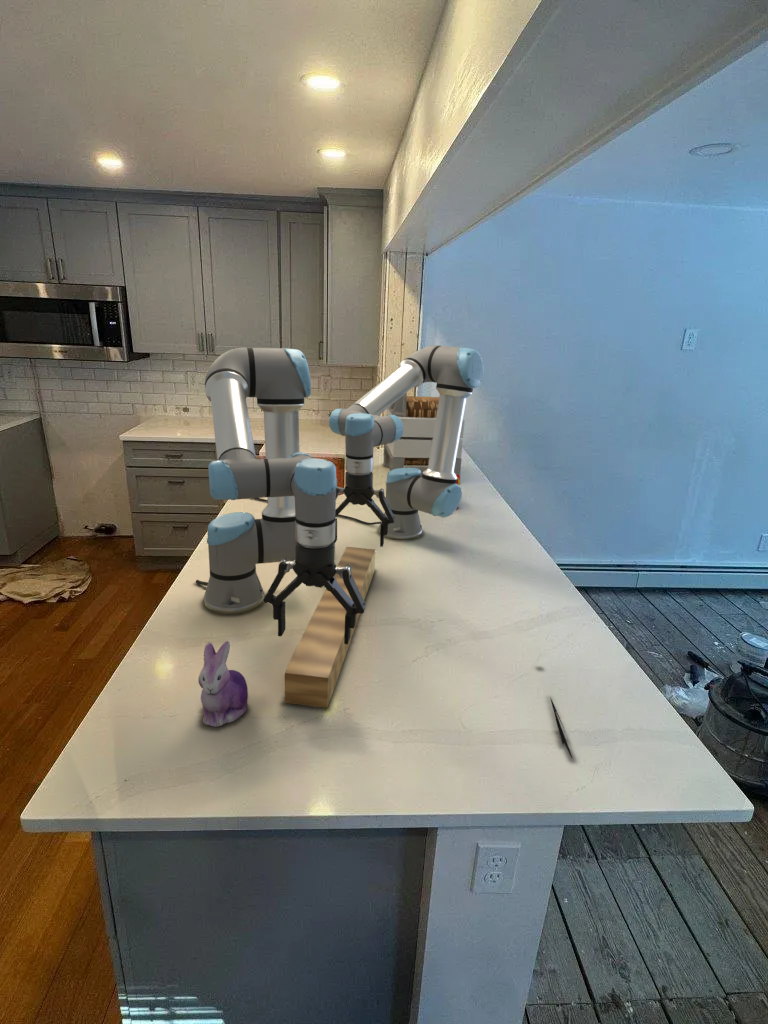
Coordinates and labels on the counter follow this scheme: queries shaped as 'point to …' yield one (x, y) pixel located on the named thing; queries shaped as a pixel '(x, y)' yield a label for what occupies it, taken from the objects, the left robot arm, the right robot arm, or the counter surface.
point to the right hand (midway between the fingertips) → (358, 543)
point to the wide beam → (326, 638)
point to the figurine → (221, 688)
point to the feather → (560, 728)
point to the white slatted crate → (415, 433)
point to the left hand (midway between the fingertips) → (314, 636)
